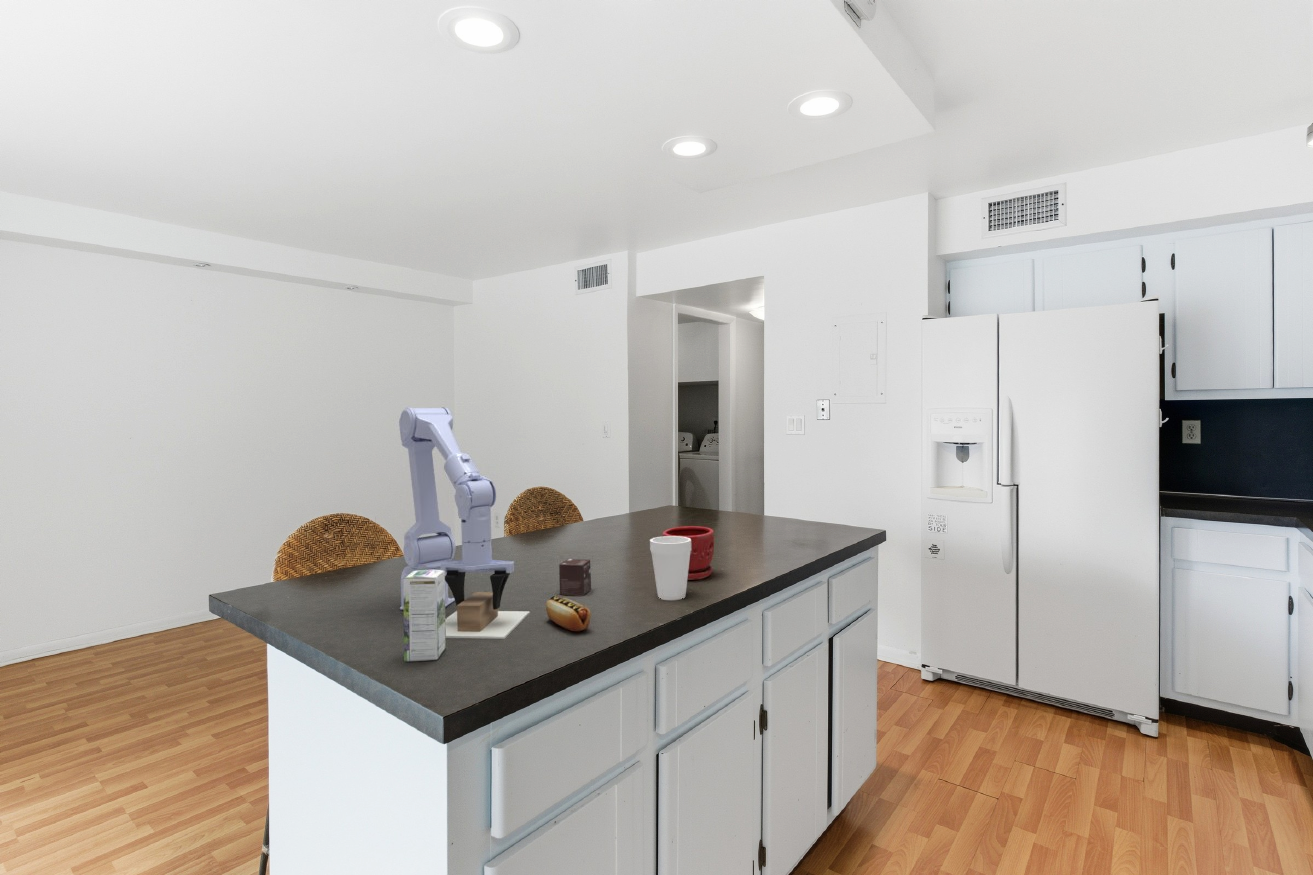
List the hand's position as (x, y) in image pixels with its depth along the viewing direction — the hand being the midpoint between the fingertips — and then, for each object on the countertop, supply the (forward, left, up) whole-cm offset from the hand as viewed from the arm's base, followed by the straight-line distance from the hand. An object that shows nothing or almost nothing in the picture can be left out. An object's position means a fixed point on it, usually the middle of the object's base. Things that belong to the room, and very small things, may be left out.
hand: (478, 607), depth 131 cm
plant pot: (+40, +41, -4) cm, 57 cm away
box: (+14, +25, -4) cm, 29 cm away
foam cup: (+37, +22, -4) cm, 43 cm away
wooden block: (0, 0, -3) cm, 3 cm away
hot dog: (+18, 0, -4) cm, 18 cm away
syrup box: (-3, -17, -4) cm, 18 cm away
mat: (0, 0, -3) cm, 3 cm away
